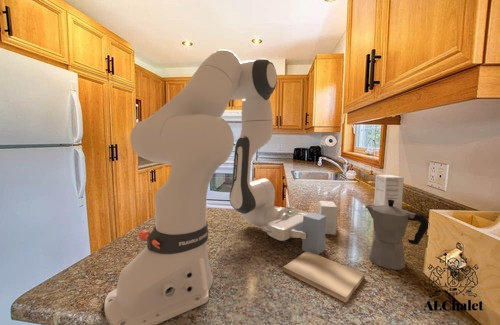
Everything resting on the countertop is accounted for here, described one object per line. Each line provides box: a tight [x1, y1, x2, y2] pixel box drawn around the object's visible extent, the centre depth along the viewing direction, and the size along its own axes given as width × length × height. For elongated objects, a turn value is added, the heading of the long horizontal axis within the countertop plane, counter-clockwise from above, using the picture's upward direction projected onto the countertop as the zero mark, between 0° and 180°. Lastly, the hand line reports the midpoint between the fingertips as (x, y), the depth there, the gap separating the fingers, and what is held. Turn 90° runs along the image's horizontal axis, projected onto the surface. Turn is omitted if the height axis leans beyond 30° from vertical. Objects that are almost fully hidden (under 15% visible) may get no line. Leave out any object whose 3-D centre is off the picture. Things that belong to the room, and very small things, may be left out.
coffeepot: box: [365, 200, 430, 271], centre depth 61 cm, size 15×9×18 cm, turn 39°
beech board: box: [282, 251, 365, 303], centre depth 56 cm, size 12×16×1 cm
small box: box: [318, 200, 338, 236], centre depth 84 cm, size 8×6×10 cm
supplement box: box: [373, 174, 405, 209], centre depth 115 cm, size 10×9×17 cm
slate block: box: [301, 212, 326, 256], centre depth 68 cm, size 5×5×11 cm
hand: (314, 231), depth 68 cm, fingers open, 8 cm apart
